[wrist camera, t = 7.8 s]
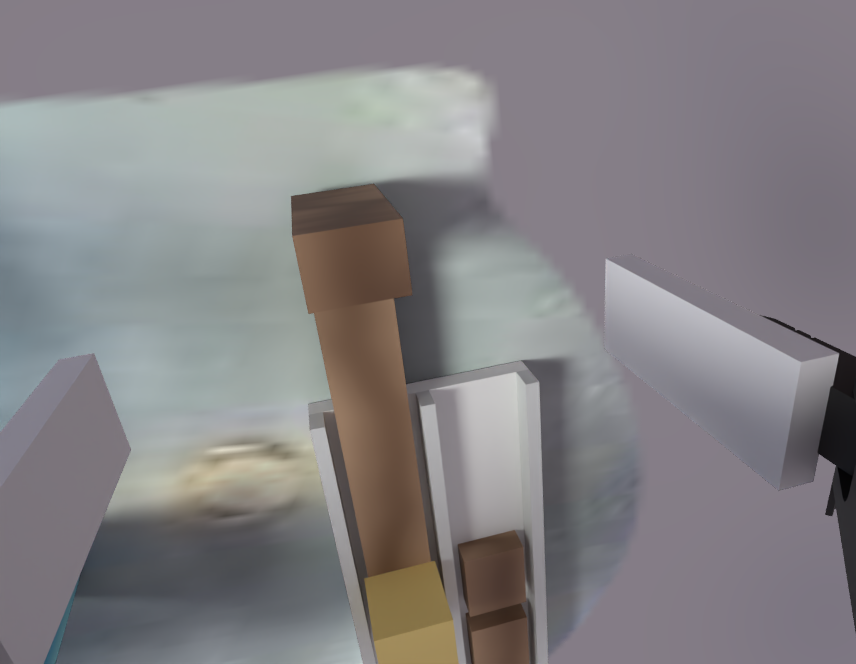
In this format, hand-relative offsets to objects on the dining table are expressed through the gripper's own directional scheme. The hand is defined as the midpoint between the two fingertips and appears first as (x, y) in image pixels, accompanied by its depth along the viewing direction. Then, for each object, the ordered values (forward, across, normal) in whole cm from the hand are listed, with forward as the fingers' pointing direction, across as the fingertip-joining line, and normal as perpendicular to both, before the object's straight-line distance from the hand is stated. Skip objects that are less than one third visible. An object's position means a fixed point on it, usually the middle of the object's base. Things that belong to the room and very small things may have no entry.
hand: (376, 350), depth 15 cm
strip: (+15, 0, -13) cm, 20 cm away
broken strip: (+15, +6, -30) cm, 34 cm away
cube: (+14, 0, -24) cm, 28 cm away
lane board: (+16, +4, -24) cm, 30 cm away
